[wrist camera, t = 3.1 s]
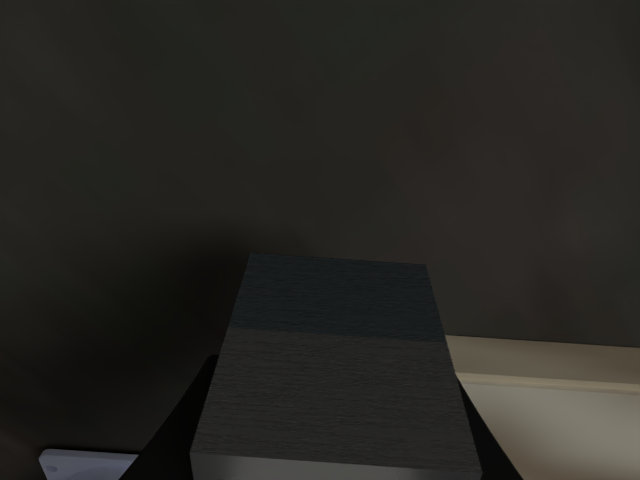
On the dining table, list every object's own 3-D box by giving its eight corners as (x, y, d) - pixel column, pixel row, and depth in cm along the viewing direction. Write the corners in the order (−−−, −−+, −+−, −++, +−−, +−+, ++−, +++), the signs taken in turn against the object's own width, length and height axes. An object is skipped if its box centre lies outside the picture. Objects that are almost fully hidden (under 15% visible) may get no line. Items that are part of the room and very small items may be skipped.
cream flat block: (599, 487, 22) (621, 532, 20) (326, 468, 22) (325, 511, 20) (689, 351, 17) (727, 395, 16) (341, 328, 17) (341, 369, 16)
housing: (395, 409, 13) (420, 625, 9) (254, 399, 13) (213, 610, 9) (425, 264, 11) (482, 473, 6) (250, 252, 11) (189, 452, 6)
